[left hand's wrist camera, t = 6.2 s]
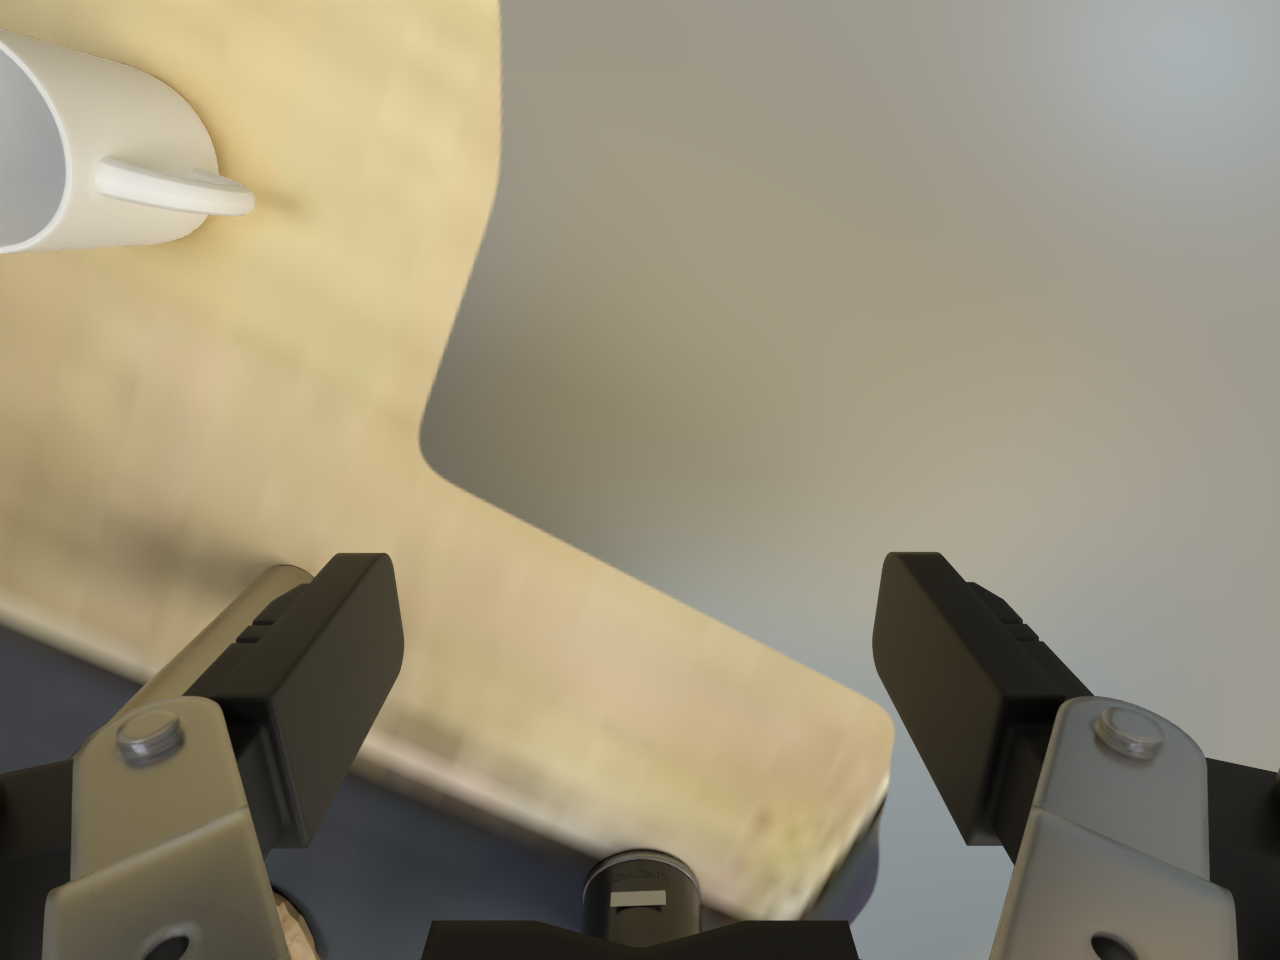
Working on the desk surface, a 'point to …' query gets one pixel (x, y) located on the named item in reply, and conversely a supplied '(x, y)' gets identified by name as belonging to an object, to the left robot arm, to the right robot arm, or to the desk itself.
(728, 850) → the desk surface
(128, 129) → the mug
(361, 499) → the desk surface
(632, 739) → the desk surface
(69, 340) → the desk surface
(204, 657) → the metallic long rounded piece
